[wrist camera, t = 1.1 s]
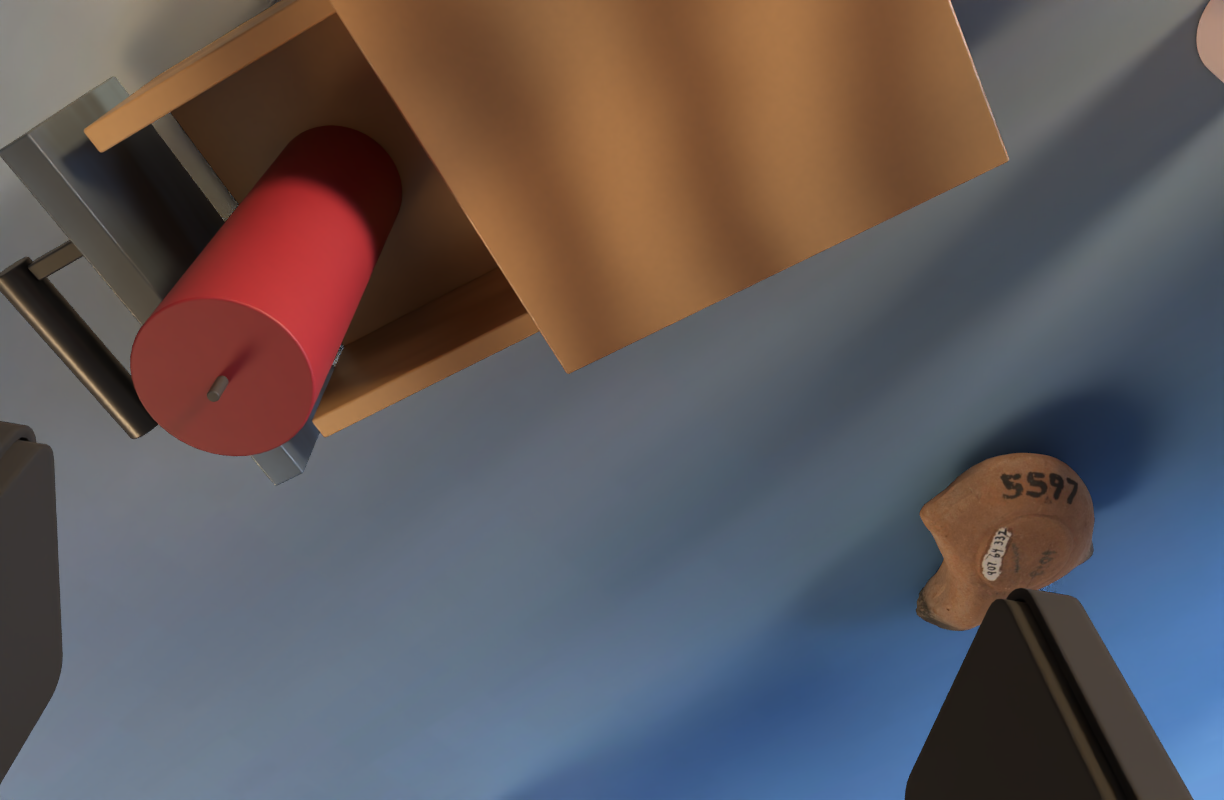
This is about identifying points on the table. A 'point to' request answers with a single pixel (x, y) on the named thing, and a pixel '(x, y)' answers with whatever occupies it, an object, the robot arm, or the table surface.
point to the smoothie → (1212, 38)
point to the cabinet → (675, 139)
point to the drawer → (239, 154)
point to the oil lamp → (1003, 535)
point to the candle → (269, 298)
